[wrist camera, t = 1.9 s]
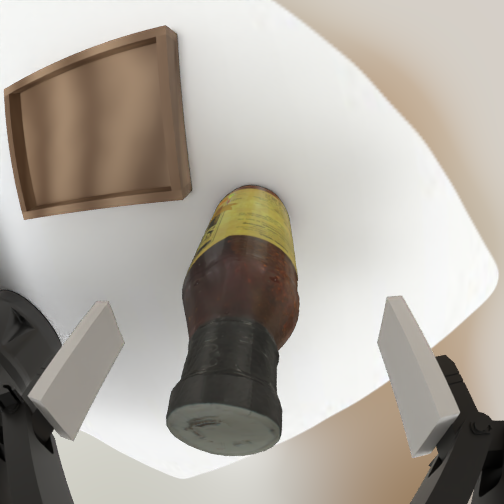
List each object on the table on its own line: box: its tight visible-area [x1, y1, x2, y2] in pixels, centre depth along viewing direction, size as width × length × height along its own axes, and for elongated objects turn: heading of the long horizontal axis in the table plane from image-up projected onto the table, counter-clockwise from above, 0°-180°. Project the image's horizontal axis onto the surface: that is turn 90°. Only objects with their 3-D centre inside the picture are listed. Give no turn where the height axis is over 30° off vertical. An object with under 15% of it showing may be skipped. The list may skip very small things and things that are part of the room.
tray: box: [4, 25, 192, 220], centre depth 22 cm, size 18×14×3 cm
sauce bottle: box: [166, 185, 299, 456], centre depth 18 cm, size 6×6×20 cm
